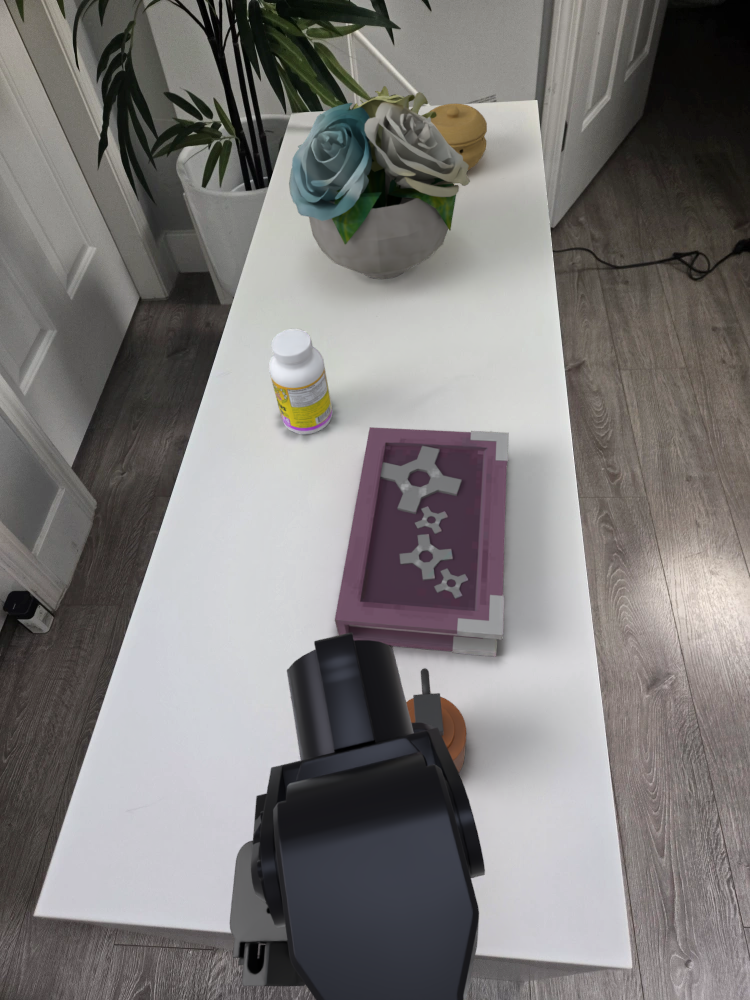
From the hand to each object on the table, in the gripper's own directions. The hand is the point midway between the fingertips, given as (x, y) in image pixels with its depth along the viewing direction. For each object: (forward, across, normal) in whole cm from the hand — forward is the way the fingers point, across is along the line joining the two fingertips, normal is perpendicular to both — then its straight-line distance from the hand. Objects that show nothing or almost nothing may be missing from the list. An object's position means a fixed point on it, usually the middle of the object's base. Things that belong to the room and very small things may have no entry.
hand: (398, 908), depth 47 cm
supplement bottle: (+15, -56, -12) cm, 60 cm away
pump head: (+5, -15, +2) cm, 16 cm away
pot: (+17, -115, +11) cm, 117 cm away
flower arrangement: (+16, -88, -1) cm, 90 cm away
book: (+14, -36, +4) cm, 39 cm away
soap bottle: (+14, -14, +3) cm, 19 cm away
